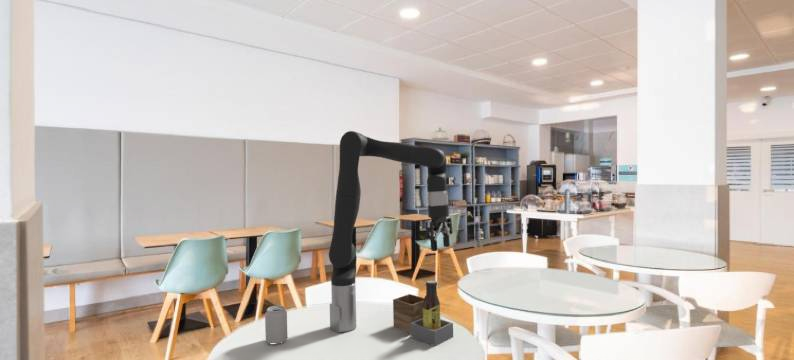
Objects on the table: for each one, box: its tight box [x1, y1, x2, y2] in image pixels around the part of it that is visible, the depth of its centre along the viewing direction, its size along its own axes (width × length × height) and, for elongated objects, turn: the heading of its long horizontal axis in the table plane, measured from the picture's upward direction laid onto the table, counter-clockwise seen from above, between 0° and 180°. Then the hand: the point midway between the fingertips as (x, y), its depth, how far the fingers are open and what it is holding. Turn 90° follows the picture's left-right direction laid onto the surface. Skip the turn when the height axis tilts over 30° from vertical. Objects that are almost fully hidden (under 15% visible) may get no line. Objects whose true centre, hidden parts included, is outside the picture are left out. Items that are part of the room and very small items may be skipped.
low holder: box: [410, 318, 454, 347], centre depth 141 cm, size 10×11×5 cm
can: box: [264, 305, 288, 344], centre depth 141 cm, size 8×8×12 cm
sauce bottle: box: [423, 279, 441, 330], centre depth 141 cm, size 6×6×20 cm
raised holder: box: [392, 293, 425, 334], centre depth 151 cm, size 9×10×10 cm
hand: (440, 248), depth 142 cm, fingers open, 8 cm apart
